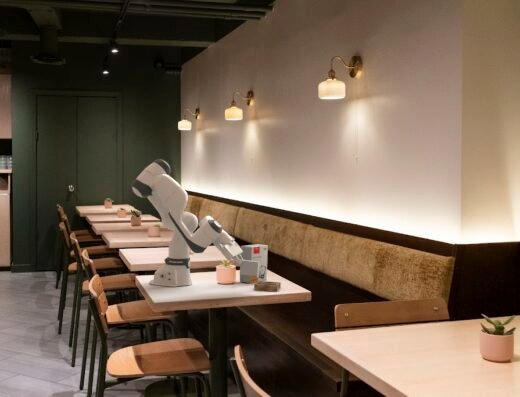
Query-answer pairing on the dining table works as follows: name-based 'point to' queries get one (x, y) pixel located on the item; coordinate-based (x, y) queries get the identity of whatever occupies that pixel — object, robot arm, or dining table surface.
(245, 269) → the gray rectangular block
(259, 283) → the walnut box
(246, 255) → the hard drive box
